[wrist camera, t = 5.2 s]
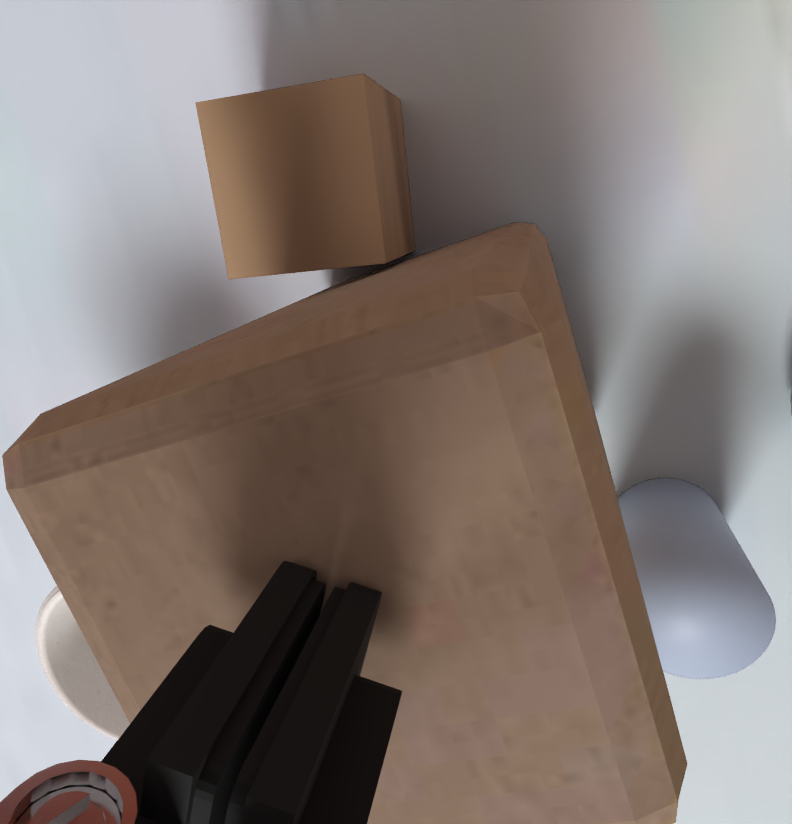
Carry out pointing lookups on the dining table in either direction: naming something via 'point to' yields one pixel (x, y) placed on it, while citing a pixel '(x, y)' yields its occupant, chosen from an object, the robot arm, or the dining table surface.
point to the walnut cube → (308, 177)
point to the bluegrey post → (695, 581)
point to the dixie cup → (76, 668)
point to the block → (384, 529)
